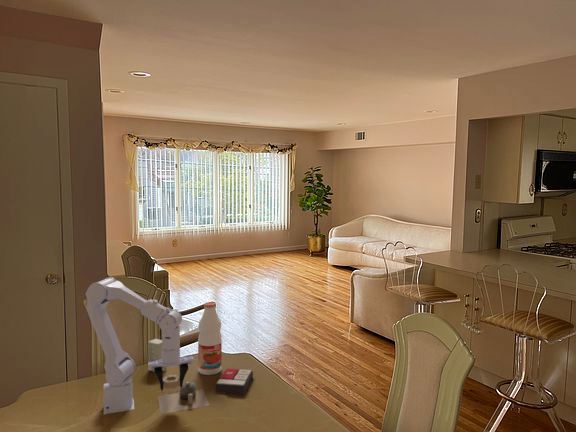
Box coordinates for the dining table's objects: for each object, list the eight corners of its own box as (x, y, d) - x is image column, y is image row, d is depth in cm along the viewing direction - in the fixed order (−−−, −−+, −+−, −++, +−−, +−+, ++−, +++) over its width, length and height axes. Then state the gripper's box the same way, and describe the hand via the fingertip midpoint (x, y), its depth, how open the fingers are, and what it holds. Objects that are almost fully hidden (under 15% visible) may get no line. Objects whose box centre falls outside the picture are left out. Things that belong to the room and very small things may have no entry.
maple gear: (163, 395, 141) (163, 383, 141) (162, 388, 146) (162, 376, 146) (180, 392, 143) (180, 380, 143) (178, 385, 148) (178, 374, 148)
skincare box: (167, 370, 177) (166, 341, 176) (158, 373, 173) (158, 344, 173) (156, 366, 180) (156, 338, 180) (147, 370, 177) (147, 341, 176)
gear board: (161, 415, 141) (160, 399, 141) (157, 397, 153) (157, 382, 153) (209, 407, 147) (209, 391, 147) (202, 390, 159) (202, 375, 159)
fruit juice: (213, 364, 183) (213, 299, 182) (226, 371, 177) (226, 303, 175) (193, 370, 177) (193, 303, 175) (206, 377, 170) (206, 307, 168)
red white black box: (253, 369, 171) (244, 384, 156) (252, 379, 171) (244, 396, 156) (226, 367, 172) (215, 382, 158) (226, 378, 172) (214, 393, 158)
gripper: (149, 354, 137) (149, 396, 138) (194, 348, 143) (195, 388, 143) (147, 347, 144) (148, 386, 145) (191, 341, 149) (191, 380, 150)
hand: (171, 387), depth 145 cm, fingers closed on maple gear, 5 cm apart
